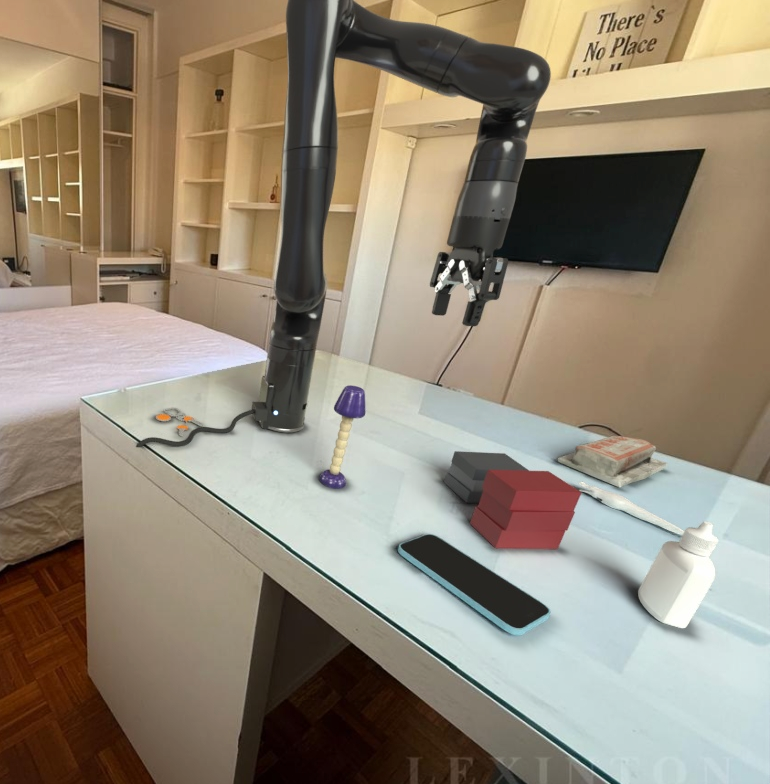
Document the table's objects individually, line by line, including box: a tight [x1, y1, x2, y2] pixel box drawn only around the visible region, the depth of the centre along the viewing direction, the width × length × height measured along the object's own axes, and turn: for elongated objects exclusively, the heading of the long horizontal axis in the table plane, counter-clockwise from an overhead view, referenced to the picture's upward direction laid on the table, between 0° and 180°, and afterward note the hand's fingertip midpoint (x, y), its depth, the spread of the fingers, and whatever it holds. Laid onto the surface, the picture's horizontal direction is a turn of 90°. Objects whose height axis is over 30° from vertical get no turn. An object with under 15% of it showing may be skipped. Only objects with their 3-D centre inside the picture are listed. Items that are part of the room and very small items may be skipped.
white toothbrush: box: [578, 481, 685, 536], centre depth 71 cm, size 15×3×2 cm, turn 22°
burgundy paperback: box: [482, 470, 583, 512], centre depth 61 cm, size 9×5×3 cm, turn 93°
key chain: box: [155, 407, 203, 437], centre depth 93 cm, size 13×7×1 cm, turn 30°
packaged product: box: [557, 435, 668, 488], centre depth 85 cm, size 18×5×10 cm
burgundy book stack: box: [469, 490, 576, 550], centre depth 63 cm, size 9×6×6 cm, turn 93°
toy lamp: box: [318, 384, 366, 490], centre depth 72 cm, size 5×5×17 cm
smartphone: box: [397, 533, 552, 636], centre depth 54 cm, size 7×1×15 cm
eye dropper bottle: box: [637, 520, 720, 629], centre depth 50 cm, size 4×6×12 cm
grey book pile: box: [443, 450, 530, 504], centre depth 73 cm, size 9×6×6 cm
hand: (453, 320), depth 75 cm, fingers open, 8 cm apart
